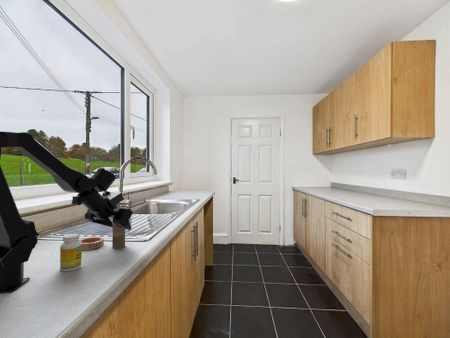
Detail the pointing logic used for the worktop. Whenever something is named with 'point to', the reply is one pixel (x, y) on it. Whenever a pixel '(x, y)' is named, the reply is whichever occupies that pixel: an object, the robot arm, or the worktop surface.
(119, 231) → the brown cylinder
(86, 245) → the ring
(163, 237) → the worktop surface
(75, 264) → the supplement bottle
